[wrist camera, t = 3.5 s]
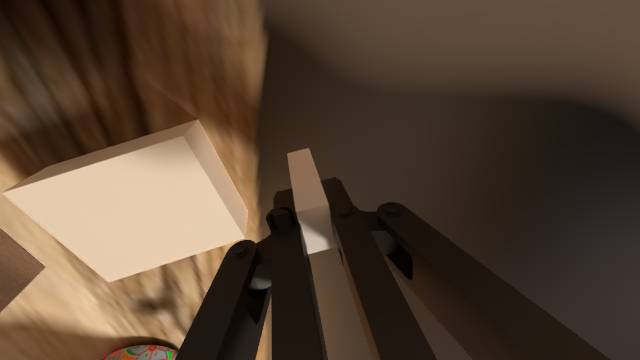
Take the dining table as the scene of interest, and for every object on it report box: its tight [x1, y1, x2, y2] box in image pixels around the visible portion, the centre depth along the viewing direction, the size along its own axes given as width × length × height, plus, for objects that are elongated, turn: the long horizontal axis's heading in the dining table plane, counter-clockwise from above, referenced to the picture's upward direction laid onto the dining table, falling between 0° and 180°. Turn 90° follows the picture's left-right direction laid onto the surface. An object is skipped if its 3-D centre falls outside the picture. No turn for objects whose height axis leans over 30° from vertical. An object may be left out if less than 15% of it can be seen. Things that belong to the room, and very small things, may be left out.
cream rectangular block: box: [2, 119, 248, 282], centre depth 16 cm, size 10×8×4 cm
